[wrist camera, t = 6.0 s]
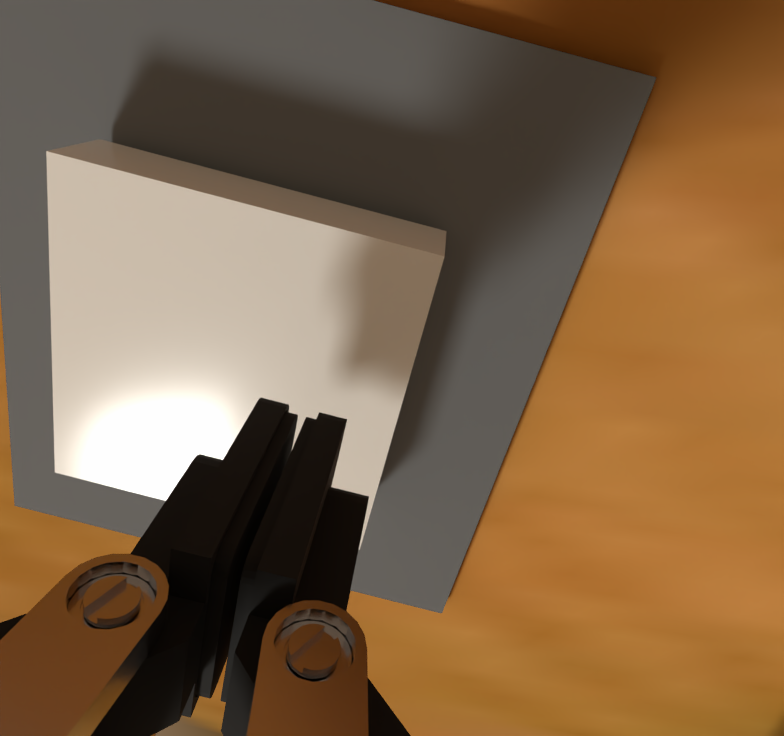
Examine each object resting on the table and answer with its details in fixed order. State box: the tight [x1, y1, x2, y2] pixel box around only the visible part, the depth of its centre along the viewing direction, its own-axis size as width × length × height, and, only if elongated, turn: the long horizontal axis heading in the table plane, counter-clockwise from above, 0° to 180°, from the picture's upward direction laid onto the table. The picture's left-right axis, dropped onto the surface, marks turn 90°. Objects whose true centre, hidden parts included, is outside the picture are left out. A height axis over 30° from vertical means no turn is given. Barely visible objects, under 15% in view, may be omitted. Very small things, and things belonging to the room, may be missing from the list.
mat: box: [0, 0, 656, 613], centre depth 16 cm, size 16×14×1 cm
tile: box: [46, 139, 447, 550], centre depth 15 cm, size 8×2×8 cm
